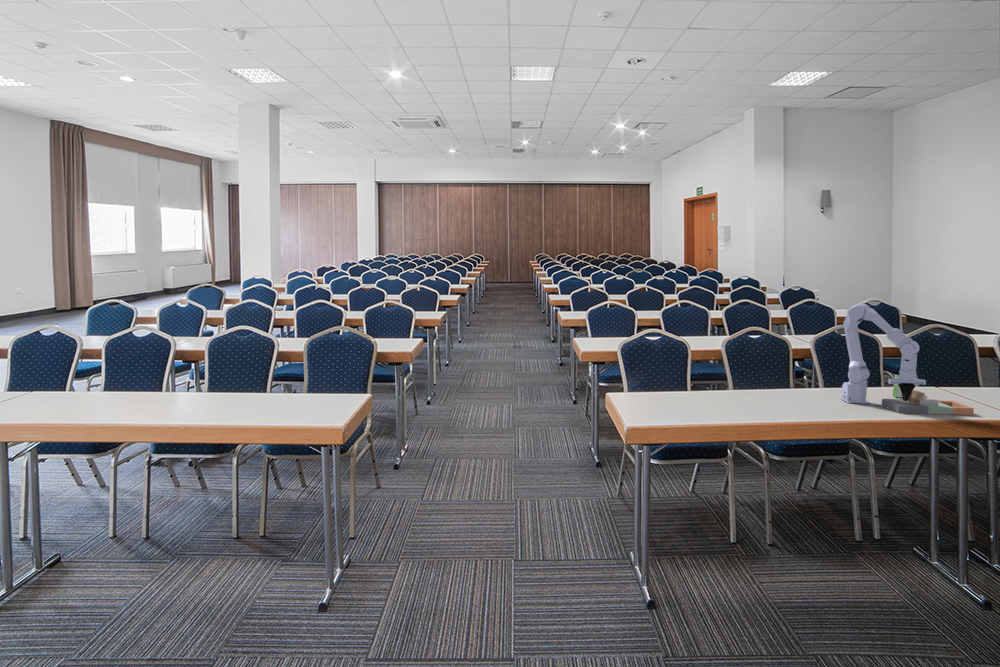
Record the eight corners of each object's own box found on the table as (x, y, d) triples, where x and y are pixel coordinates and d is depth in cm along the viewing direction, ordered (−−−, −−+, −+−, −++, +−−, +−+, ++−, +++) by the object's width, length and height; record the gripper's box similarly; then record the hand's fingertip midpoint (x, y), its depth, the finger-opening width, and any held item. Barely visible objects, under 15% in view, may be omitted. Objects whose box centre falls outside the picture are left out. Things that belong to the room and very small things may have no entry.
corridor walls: (919, 405, 275) (920, 399, 275) (907, 400, 285) (907, 394, 284) (938, 406, 275) (938, 400, 275) (925, 401, 284) (925, 395, 284)
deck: (898, 413, 274) (898, 406, 274) (881, 405, 288) (882, 398, 288) (973, 415, 272) (973, 408, 272) (952, 407, 286) (953, 400, 285)
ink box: (907, 396, 306) (910, 368, 305) (912, 398, 302) (914, 370, 301) (892, 396, 307) (894, 368, 305) (896, 398, 303) (899, 369, 301)
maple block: (911, 403, 278) (912, 392, 277) (905, 401, 283) (906, 390, 282) (923, 404, 277) (924, 393, 277) (917, 401, 282) (918, 390, 282)
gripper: (895, 370, 275) (892, 402, 277) (931, 371, 274) (928, 403, 276) (886, 367, 282) (884, 398, 284) (921, 368, 281) (918, 399, 283)
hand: (905, 400), depth 280 cm, fingers closed
